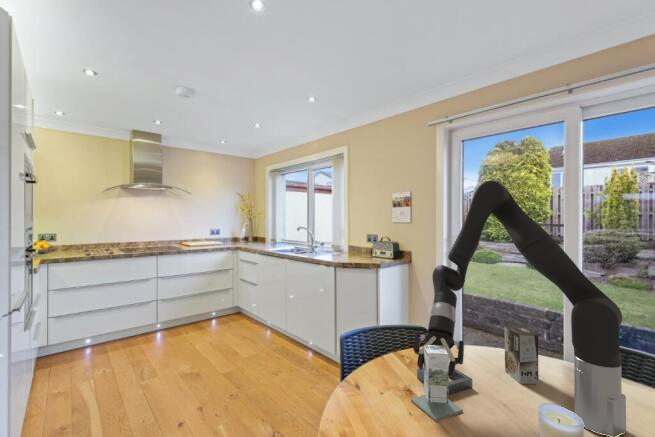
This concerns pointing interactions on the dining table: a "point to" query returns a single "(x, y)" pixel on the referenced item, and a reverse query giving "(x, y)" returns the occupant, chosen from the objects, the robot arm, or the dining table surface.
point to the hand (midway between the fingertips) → (434, 372)
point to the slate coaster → (436, 408)
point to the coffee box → (521, 354)
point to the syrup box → (436, 374)
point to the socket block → (455, 386)
